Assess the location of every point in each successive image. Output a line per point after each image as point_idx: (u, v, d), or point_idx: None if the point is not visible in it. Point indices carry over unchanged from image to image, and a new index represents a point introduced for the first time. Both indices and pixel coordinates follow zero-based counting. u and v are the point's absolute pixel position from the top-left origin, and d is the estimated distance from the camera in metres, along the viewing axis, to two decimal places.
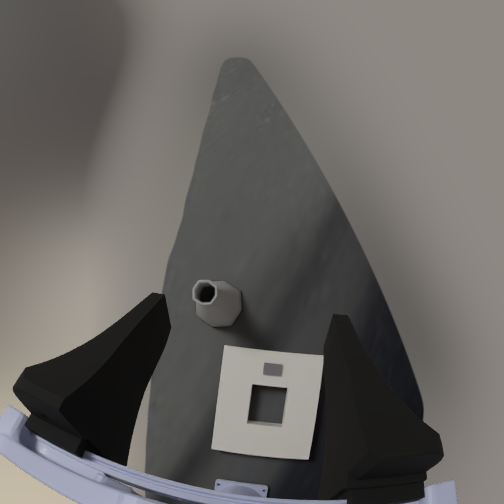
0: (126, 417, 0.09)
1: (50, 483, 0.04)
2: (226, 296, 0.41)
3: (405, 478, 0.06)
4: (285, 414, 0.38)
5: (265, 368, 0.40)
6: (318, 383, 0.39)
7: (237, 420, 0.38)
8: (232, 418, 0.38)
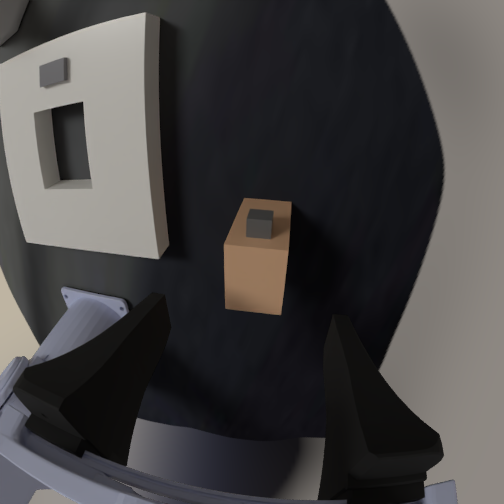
0: (126, 417, 0.09)
1: (50, 483, 0.04)
2: None
3: (405, 478, 0.06)
4: (90, 160, 0.17)
5: (42, 75, 0.14)
6: (139, 77, 0.14)
7: (33, 186, 0.19)
8: (27, 184, 0.19)
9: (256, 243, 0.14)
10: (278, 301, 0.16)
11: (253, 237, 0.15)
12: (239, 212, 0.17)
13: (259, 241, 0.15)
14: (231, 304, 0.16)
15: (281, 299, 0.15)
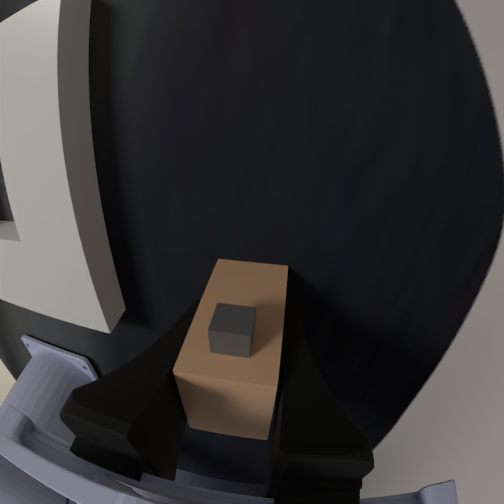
0: (176, 431, 0.09)
1: (50, 483, 0.04)
2: None
3: (336, 483, 0.06)
4: (11, 205, 0.11)
5: None
6: (51, 85, 0.08)
7: None
8: None
9: (225, 369, 0.08)
10: (263, 429, 0.09)
11: (222, 353, 0.09)
12: (206, 291, 0.11)
13: (230, 364, 0.08)
14: (197, 425, 0.10)
15: (267, 428, 0.09)
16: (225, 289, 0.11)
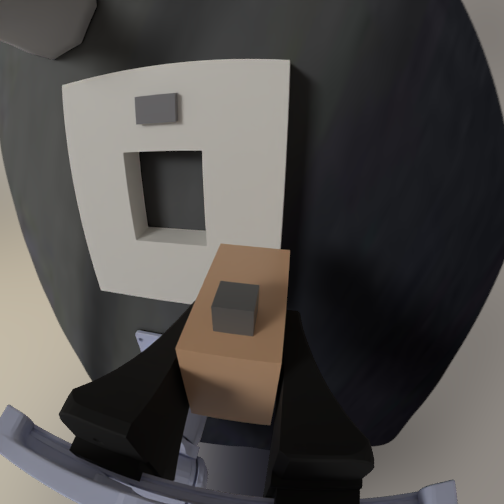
0: (176, 431, 0.09)
1: (50, 483, 0.04)
2: None
3: (336, 483, 0.06)
4: (207, 216, 0.18)
5: (139, 109, 0.14)
6: (280, 135, 0.15)
7: (118, 235, 0.19)
8: (109, 232, 0.19)
9: (228, 347, 0.08)
10: (266, 413, 0.10)
11: (225, 332, 0.09)
12: (209, 274, 0.11)
13: (234, 341, 0.09)
14: (199, 410, 0.10)
15: (270, 412, 0.09)
16: (228, 271, 0.11)
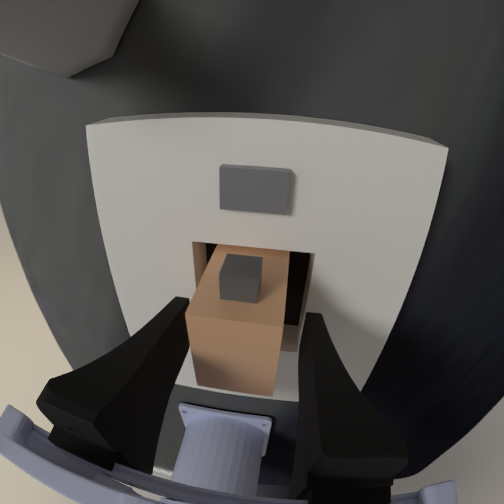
0: (153, 425, 0.09)
1: (50, 483, 0.04)
2: None
3: (369, 482, 0.06)
4: None
5: (227, 188, 0.11)
6: (417, 243, 0.11)
7: None
8: None
9: (234, 312, 0.09)
10: (268, 383, 0.10)
11: (231, 299, 0.10)
12: (216, 251, 0.12)
13: (239, 308, 0.09)
14: (204, 382, 0.11)
15: (273, 381, 0.10)
16: (233, 249, 0.12)
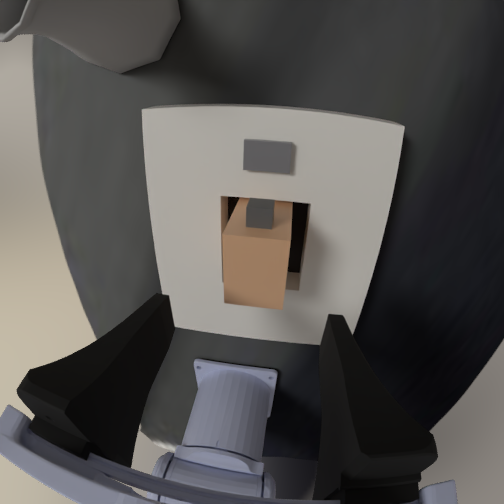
0: (130, 418, 0.09)
1: (50, 483, 0.04)
2: None
3: (399, 479, 0.06)
4: (305, 265, 0.18)
5: (248, 154, 0.15)
6: (386, 196, 0.15)
7: (202, 276, 0.20)
8: (191, 273, 0.20)
9: (256, 233, 0.14)
10: (280, 295, 0.15)
11: (253, 227, 0.14)
12: (238, 202, 0.17)
13: (260, 231, 0.14)
14: (230, 298, 0.15)
15: (283, 293, 0.15)
16: None
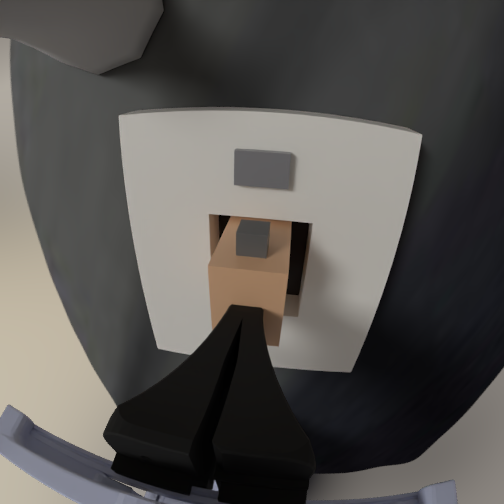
0: None
1: (50, 483, 0.04)
2: None
3: (281, 482, 0.06)
4: (306, 290, 0.16)
5: (240, 167, 0.13)
6: (399, 215, 0.13)
7: (191, 300, 0.18)
8: (179, 296, 0.18)
9: (248, 264, 0.12)
10: (275, 332, 0.13)
11: (245, 255, 0.12)
12: (229, 222, 0.14)
13: (252, 261, 0.12)
14: None
15: (279, 329, 0.13)
16: None
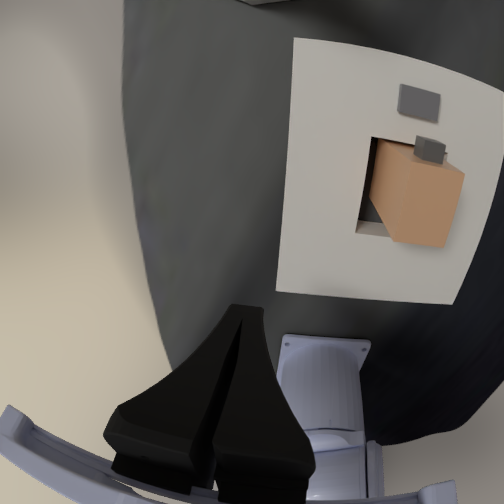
0: None
1: (50, 483, 0.04)
2: None
3: (281, 482, 0.06)
4: None
5: (405, 98, 0.13)
6: (500, 153, 0.13)
7: (334, 226, 0.18)
8: (322, 222, 0.18)
9: (436, 165, 0.12)
10: (445, 231, 0.13)
11: (427, 161, 0.12)
12: (389, 144, 0.15)
13: (436, 164, 0.12)
14: (401, 235, 0.13)
15: (448, 228, 0.13)
16: (399, 145, 0.15)
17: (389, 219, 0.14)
